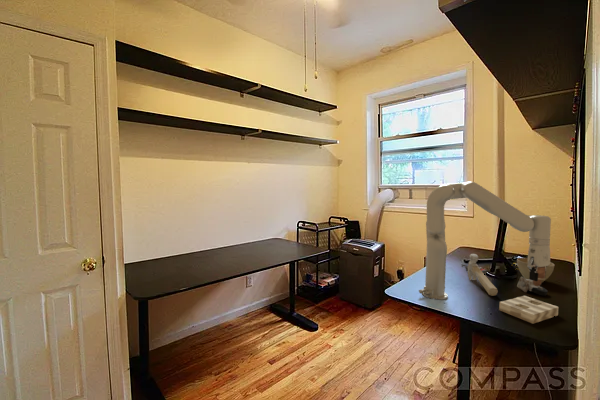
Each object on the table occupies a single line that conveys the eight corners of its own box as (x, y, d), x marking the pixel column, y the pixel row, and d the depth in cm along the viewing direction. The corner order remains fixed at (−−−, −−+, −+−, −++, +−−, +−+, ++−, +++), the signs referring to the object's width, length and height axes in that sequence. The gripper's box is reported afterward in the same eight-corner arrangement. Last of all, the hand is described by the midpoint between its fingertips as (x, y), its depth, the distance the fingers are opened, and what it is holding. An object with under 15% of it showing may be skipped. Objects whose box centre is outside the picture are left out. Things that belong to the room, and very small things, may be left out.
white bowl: (549, 288, 166) (551, 267, 165) (512, 279, 180) (513, 260, 179) (555, 281, 177) (557, 262, 176) (520, 273, 191) (521, 256, 190)
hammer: (500, 280, 150) (477, 253, 178) (490, 279, 151) (469, 253, 179) (495, 305, 154) (473, 275, 183) (486, 304, 155) (465, 275, 183)
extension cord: (527, 267, 208) (527, 264, 208) (522, 271, 198) (523, 268, 198) (507, 263, 217) (507, 260, 217) (501, 267, 207) (502, 264, 207)
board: (532, 323, 123) (533, 314, 123) (499, 310, 136) (499, 302, 135) (557, 315, 131) (558, 306, 131) (523, 303, 144) (524, 295, 143)
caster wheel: (548, 300, 155) (532, 297, 154) (530, 288, 165) (515, 286, 164) (553, 289, 153) (537, 287, 152) (535, 278, 164) (520, 276, 163)
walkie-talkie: (491, 274, 191) (462, 266, 208) (491, 267, 190) (462, 260, 208) (484, 276, 186) (455, 267, 204) (484, 269, 186) (455, 261, 203)
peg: (540, 288, 131) (541, 268, 130) (527, 284, 136) (527, 265, 135) (547, 286, 133) (548, 267, 132) (533, 282, 138) (534, 264, 137)
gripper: (538, 244, 126) (536, 284, 127) (558, 241, 133) (556, 279, 134) (519, 241, 133) (517, 279, 134) (540, 238, 140) (538, 274, 141)
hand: (537, 279), depth 134 cm, fingers closed on peg, 5 cm apart
